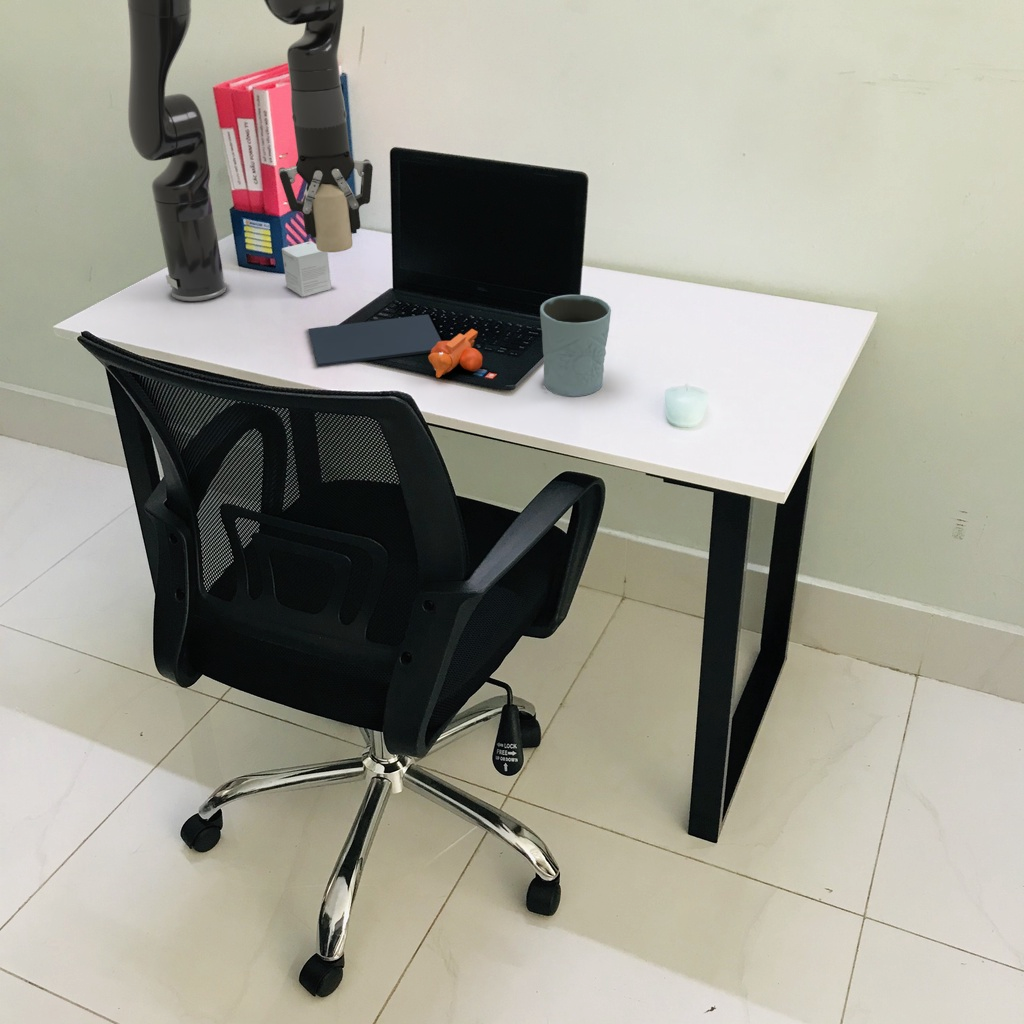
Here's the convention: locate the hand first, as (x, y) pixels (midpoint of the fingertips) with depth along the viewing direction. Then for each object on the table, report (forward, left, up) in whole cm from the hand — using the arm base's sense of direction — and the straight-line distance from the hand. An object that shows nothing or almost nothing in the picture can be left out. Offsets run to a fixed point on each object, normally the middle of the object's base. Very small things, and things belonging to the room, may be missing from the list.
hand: (333, 233), depth 169 cm
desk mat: (+1, +5, -18) cm, 19 cm away
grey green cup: (+25, +31, -18) cm, 43 cm away
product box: (-25, -3, -18) cm, 31 cm away
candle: (0, 0, -2) cm, 2 cm away
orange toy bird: (+15, +16, -18) cm, 28 cm away
